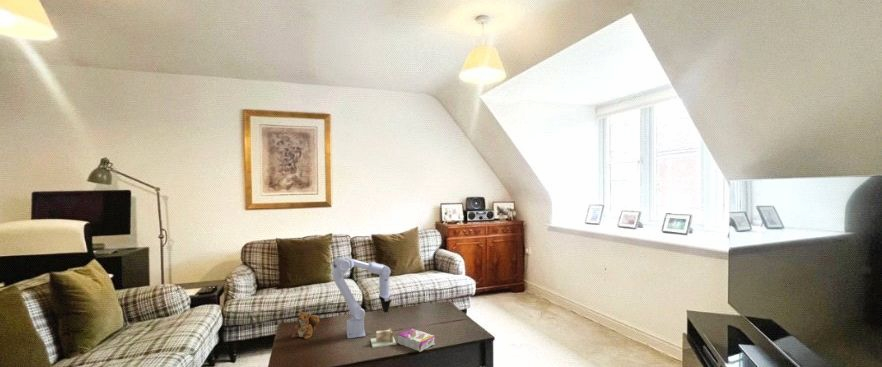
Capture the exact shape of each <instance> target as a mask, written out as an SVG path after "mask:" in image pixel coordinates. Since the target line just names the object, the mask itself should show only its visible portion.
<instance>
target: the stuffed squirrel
mask: <svg viewBox="0 0 882 367" xmlns="http://www.w3.org/2000/svg"><path fill="white" fill-rule="evenodd" d="M296 322H297V324H296V325H295V326H294V328H295V330H296V332H295V333H293V334H291V338H298V337H299V338H303V339H304V340H308V339H309V338H311V337H312V336H313V333H314V332H315V330H316V326H318V323H320V317H319V316H318V315H317V314H312V313H310V312H309V313H308V312H306V311H300V315H299V317H298V318H297V319H296Z"/></svg>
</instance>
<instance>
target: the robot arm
mask: <svg viewBox="0 0 882 367" xmlns="http://www.w3.org/2000/svg"><path fill="white" fill-rule="evenodd" d="M354 267H356V268H359V269H360V268H361V269H365V270H366V271H367V272H368V273H371V274H375V275H378V276H379V280H378V281H379V288H378V289H379V295H378V298H379V300H380V303H381V309H383V313H389V308H390V305H391V303H392V300H391V299H389V297H390V296H392V295H393V293H392V292H390V291H391V290H390V286H391V285H390V275H391V273H392V270H391V268H390V267H389V266H387V265H385V264H383V263H378V262H376V261H374V260H373V261H369V262H365V261H361V260H358V259H354V258H349V257H342V256H338V257H336V258H335V259H334V261H333V264H332V280H333V282H334V283H335V285H336V287H337V289H338V290H339V292H340V294H341V295H342V297H343V299H344V301H345V303H346V305H347V307H348V313H349V315H350V318H349V319H346V333H345V334H346V336H347V339H354V338H361V337H366V331H365V318H364V317H365V316H366V311H365V309H364V308H362V307H361V306H360V304H359V303H358V302H357V300H356V298H355V296H354V295H353V293H352V291H351V289H350V287H349V285H348V284H347V282H346V280H345V274H347V272H348V270H349V269H352V268H354Z"/></svg>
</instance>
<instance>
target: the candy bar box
mask: <svg viewBox="0 0 882 367" xmlns="http://www.w3.org/2000/svg"><path fill="white" fill-rule="evenodd" d="M435 341H436V340H435V335H434V334H430V333H427V332H424V331H421V330H418V329H415V328H413V327H412V328H410V329H408V330H405V331H403V332H401V333H398V334H397V344H398V345H401V346H403V347H406V348H408V349H412V350H414V351H417V352H419V353H421V352H423V351H424V350H426V349H429V348H430V347H433V346H435V345H436V344H435V343H436V342H435Z"/></svg>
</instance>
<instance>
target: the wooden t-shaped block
mask: <svg viewBox="0 0 882 367" xmlns="http://www.w3.org/2000/svg"><path fill="white" fill-rule="evenodd" d="M393 334H394V332H393V330H392V327H389V328H388V329H385V330H384V329H383V330H376V331H375V335H376V336H375V338H376V342H377V343H378V342H385V341H391V342H393V337H394V335H393Z"/></svg>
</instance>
